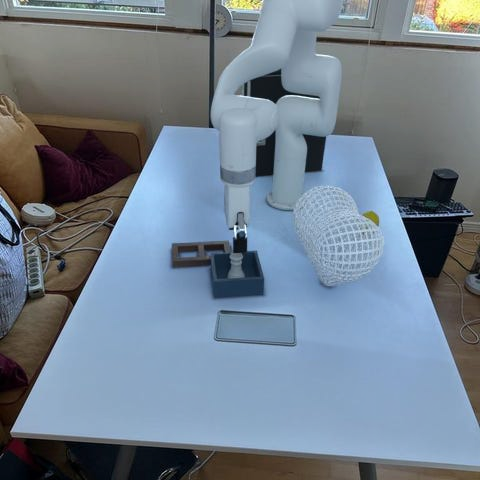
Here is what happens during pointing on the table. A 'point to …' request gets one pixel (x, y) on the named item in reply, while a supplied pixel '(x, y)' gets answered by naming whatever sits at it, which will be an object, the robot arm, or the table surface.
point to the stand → (201, 249)
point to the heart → (336, 236)
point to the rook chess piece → (236, 266)
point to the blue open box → (236, 286)
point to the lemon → (372, 217)
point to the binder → (265, 149)
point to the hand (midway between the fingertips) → (237, 240)
